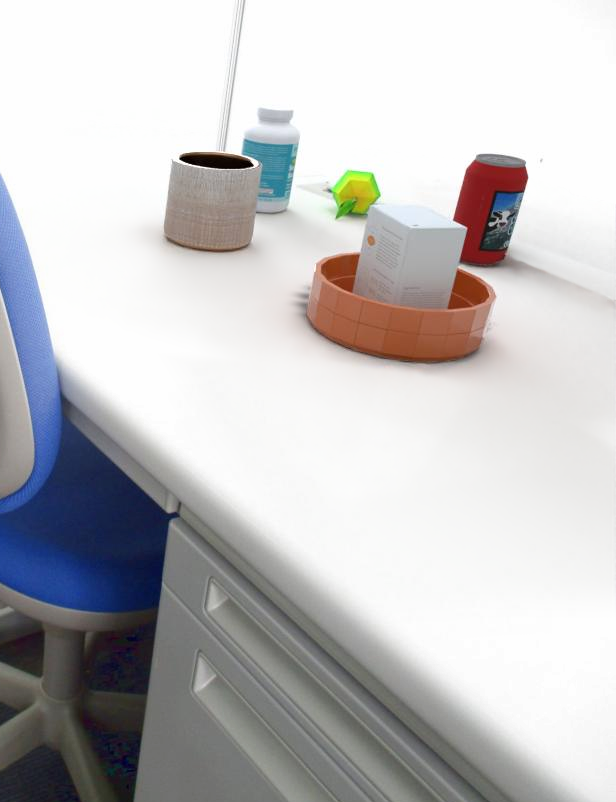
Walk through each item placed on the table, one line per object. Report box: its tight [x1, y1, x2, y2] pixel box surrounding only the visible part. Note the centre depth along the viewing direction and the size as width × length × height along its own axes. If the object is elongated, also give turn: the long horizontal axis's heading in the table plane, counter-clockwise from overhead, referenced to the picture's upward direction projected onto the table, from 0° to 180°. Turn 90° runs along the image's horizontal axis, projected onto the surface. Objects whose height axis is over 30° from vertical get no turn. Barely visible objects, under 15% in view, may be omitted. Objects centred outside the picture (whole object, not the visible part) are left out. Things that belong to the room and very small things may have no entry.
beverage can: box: [452, 153, 529, 267], centre depth 103 cm, size 7×7×12 cm
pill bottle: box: [240, 104, 301, 214], centre depth 119 cm, size 8×7×14 cm
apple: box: [330, 169, 382, 221], centre depth 120 cm, size 7×6×9 cm
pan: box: [306, 251, 497, 363], centre depth 83 cm, size 16×16×5 cm
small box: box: [352, 204, 467, 310], centre depth 81 cm, size 8×6×10 cm
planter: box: [163, 150, 262, 252], centre depth 105 cm, size 11×11×10 cm
